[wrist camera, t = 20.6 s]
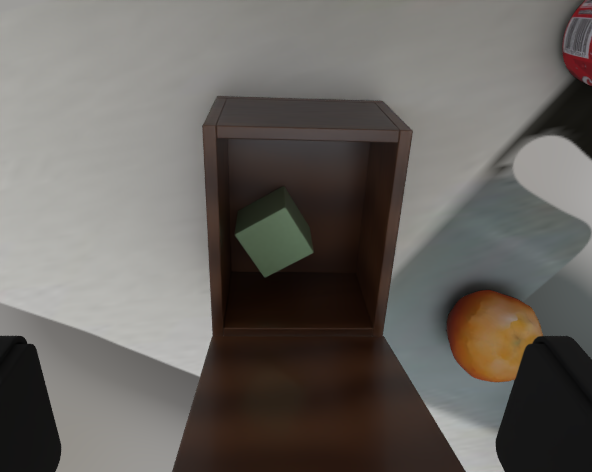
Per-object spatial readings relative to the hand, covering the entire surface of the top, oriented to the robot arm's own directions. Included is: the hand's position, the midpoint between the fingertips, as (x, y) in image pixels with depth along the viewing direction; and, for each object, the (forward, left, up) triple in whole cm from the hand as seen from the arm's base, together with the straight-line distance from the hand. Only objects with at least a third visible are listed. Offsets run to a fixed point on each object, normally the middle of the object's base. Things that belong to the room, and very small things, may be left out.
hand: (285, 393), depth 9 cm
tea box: (+9, +2, -27) cm, 29 cm away
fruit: (+20, +20, -31) cm, 42 cm away
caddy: (+8, +2, -30) cm, 31 cm away
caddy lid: (+13, +2, -13) cm, 19 cm away
